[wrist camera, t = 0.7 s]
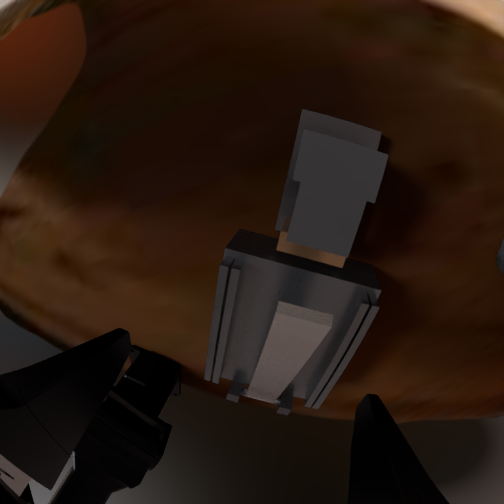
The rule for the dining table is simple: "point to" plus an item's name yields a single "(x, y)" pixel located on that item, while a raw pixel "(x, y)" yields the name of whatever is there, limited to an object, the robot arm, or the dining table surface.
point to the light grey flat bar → (287, 348)
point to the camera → (501, 258)
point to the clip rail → (326, 127)
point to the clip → (333, 191)
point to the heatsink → (293, 292)
